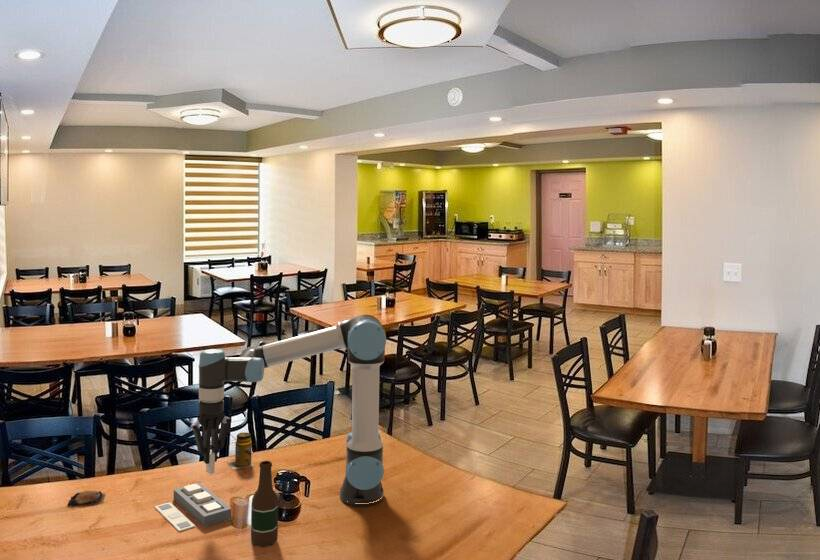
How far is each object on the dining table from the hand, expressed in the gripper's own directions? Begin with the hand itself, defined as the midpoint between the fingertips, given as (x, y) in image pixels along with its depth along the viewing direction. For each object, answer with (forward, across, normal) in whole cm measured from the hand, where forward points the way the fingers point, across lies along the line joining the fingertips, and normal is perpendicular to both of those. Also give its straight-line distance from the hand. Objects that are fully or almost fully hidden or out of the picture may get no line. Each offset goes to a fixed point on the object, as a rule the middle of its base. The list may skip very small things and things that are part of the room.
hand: (210, 472), depth 197 cm
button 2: (+13, 0, +1) cm, 13 cm away
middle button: (+12, 0, -6) cm, 14 cm away
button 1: (+12, 0, -14) cm, 18 cm away
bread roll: (+15, +26, -35) cm, 46 cm away
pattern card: (+15, +9, -6) cm, 18 cm away
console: (+15, 0, -6) cm, 16 cm away
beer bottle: (+15, -6, +24) cm, 29 cm away
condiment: (+15, -28, -32) cm, 45 cm away
